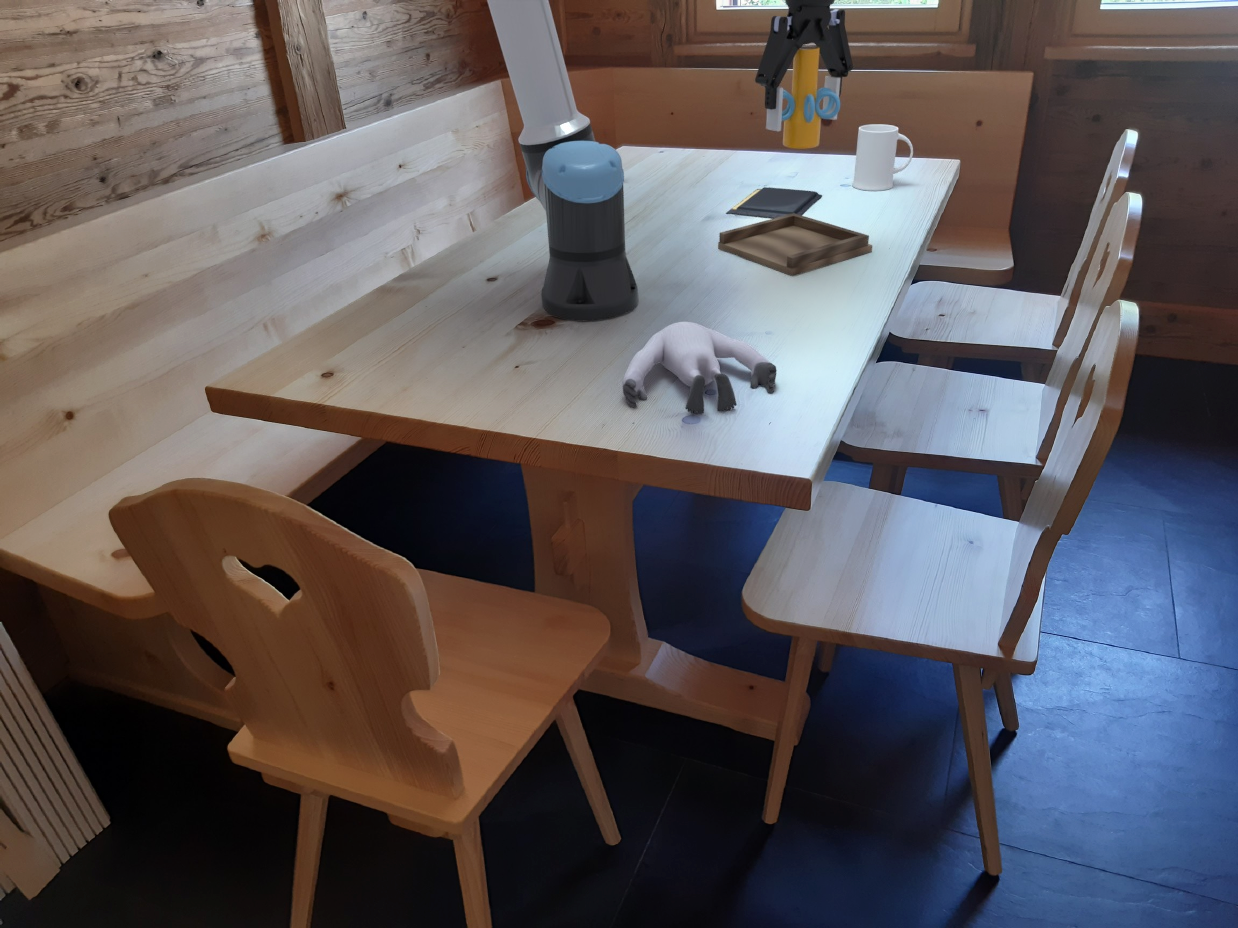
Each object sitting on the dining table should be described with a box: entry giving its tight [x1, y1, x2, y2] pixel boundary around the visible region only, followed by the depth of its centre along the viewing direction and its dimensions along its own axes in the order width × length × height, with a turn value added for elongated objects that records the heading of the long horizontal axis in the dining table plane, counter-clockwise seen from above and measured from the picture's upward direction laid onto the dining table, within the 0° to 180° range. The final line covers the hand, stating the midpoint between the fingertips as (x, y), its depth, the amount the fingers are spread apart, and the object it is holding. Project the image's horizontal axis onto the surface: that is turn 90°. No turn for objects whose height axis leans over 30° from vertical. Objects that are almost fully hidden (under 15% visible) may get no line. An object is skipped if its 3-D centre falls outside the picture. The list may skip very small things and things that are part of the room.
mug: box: [851, 123, 914, 192], centre depth 193 cm, size 12×8×12 cm
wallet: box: [725, 186, 823, 220], centre depth 187 cm, size 20×2×15 cm
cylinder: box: [781, 45, 841, 150], centre depth 148 cm, size 12×10×15 cm
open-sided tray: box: [717, 213, 873, 277], centre depth 161 cm, size 19×19×3 cm
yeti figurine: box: [622, 321, 778, 415], centre depth 118 cm, size 20×7×20 cm
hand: (802, 124), depth 151 cm, fingers closed on cylinder, 12 cm apart
